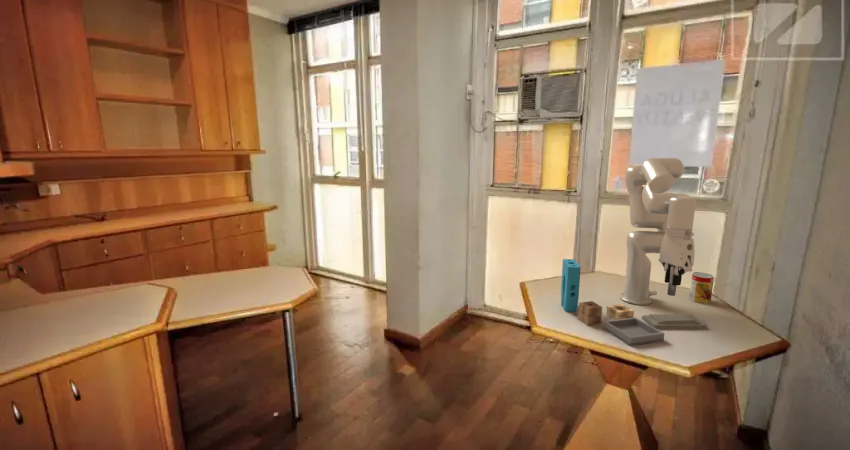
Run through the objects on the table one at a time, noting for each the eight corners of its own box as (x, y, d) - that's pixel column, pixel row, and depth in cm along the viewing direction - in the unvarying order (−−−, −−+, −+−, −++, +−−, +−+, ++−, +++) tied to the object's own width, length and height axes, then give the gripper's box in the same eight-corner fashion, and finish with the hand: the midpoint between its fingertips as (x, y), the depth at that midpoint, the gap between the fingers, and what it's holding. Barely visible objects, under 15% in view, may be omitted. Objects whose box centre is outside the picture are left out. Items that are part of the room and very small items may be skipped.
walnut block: (591, 317, 161) (592, 301, 160) (600, 323, 155) (602, 306, 154) (578, 319, 159) (579, 302, 158) (587, 325, 154) (588, 308, 152)
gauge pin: (671, 292, 141) (674, 260, 139) (677, 295, 139) (681, 262, 136) (665, 293, 141) (669, 261, 138) (671, 296, 138) (675, 263, 136)
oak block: (620, 313, 165) (621, 304, 164) (633, 320, 158) (634, 310, 157) (606, 314, 163) (606, 305, 162) (618, 322, 156) (619, 312, 156)
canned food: (714, 304, 173) (718, 277, 171) (695, 303, 174) (698, 277, 172) (704, 297, 181) (707, 272, 178) (685, 296, 182) (688, 271, 179)
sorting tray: (634, 324, 154) (635, 317, 154) (663, 341, 141) (664, 333, 140) (603, 328, 151) (603, 321, 150) (630, 346, 138) (630, 338, 137)
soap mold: (708, 331, 149) (709, 322, 149) (654, 331, 150) (655, 322, 149) (690, 319, 159) (692, 311, 159) (640, 319, 160) (641, 311, 159)
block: (578, 313, 164) (581, 267, 161) (565, 313, 165) (568, 267, 161) (571, 302, 176) (574, 259, 172) (559, 302, 177) (562, 259, 173)
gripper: (709, 237, 129) (701, 290, 132) (667, 227, 144) (662, 275, 148) (690, 238, 127) (683, 293, 131) (650, 228, 142) (645, 277, 146)
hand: (672, 283), depth 139 cm, fingers closed on gauge pin, 2 cm apart
